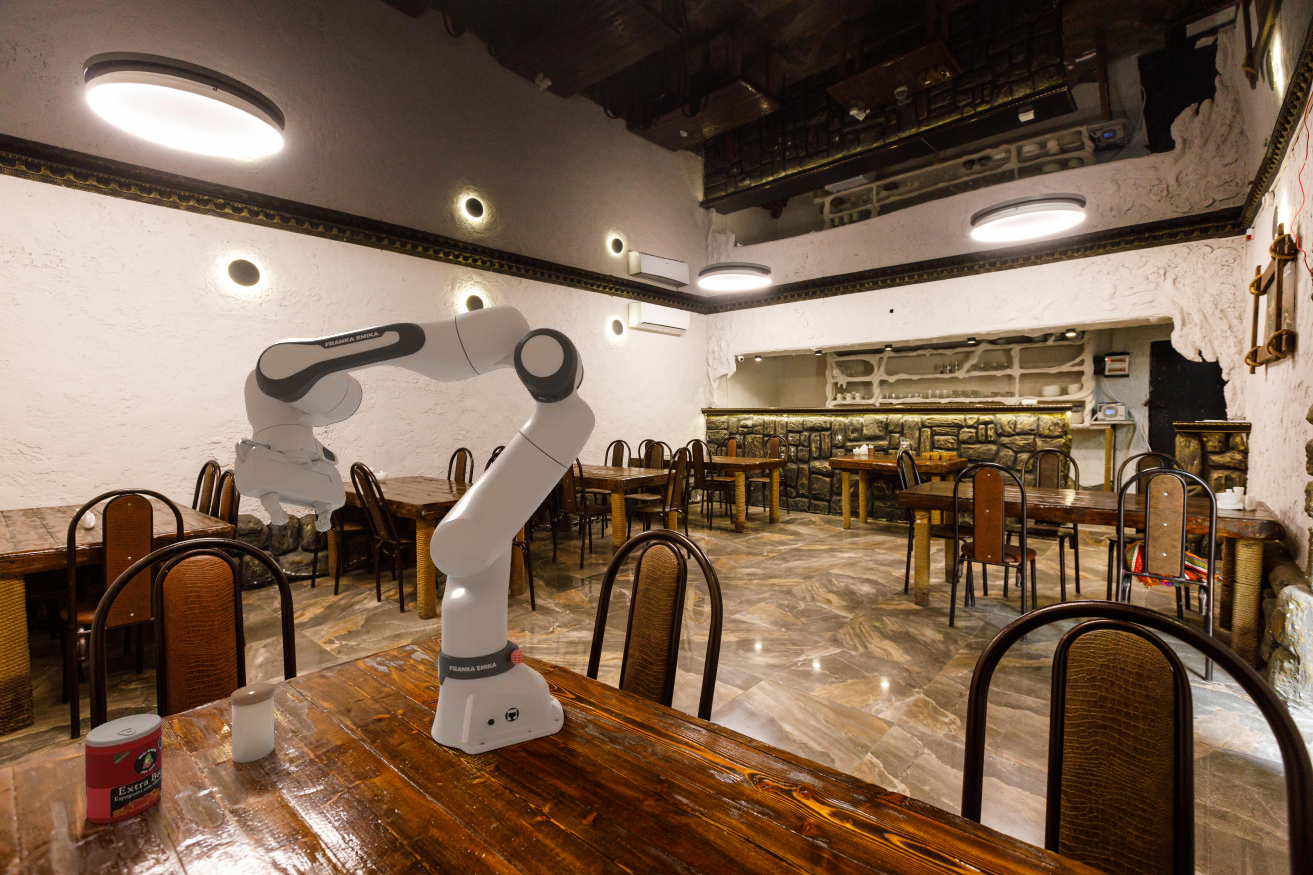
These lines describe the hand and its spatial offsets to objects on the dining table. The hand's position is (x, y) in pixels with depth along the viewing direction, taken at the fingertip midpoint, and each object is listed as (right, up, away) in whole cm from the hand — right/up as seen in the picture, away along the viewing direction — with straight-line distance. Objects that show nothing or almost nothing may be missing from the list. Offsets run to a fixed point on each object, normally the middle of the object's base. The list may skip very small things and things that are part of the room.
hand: (303, 526), depth 92 cm
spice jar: (-8, -36, -1) cm, 37 cm away
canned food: (-16, -37, -14) cm, 42 cm away
